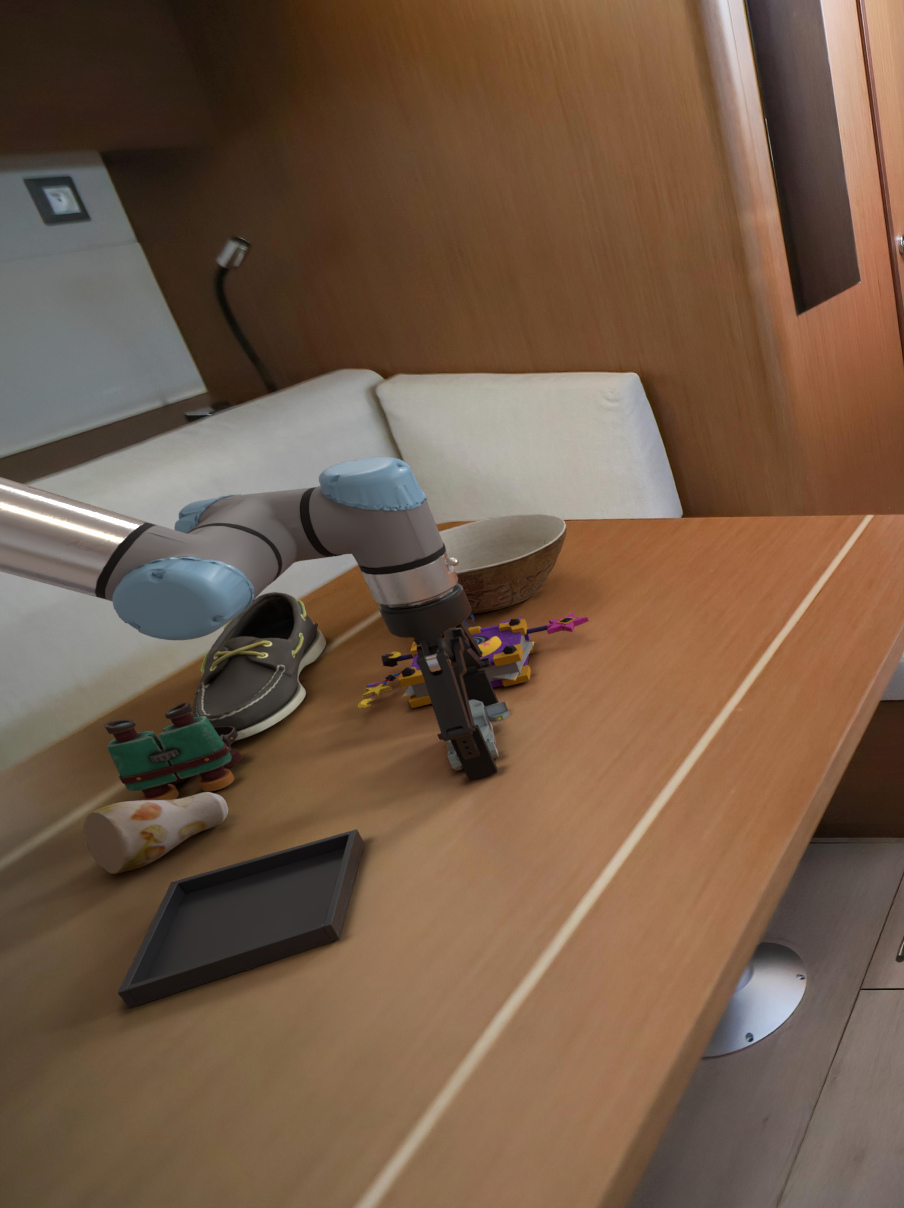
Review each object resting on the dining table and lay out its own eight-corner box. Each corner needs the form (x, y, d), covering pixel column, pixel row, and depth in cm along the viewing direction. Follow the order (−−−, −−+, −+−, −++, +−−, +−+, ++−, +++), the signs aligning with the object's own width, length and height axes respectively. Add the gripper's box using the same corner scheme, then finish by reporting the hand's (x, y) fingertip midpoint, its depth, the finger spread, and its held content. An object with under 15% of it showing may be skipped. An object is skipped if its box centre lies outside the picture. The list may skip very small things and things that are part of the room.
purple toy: (380, 671, 131) (343, 593, 126) (593, 625, 143) (568, 552, 137) (358, 726, 120) (316, 644, 114) (591, 672, 131) (563, 595, 126)
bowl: (393, 593, 150) (367, 536, 146) (568, 550, 165) (550, 497, 160) (406, 654, 135) (377, 592, 130) (598, 600, 149) (579, 543, 145)
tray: (129, 1008, 84) (117, 993, 83) (181, 896, 95) (171, 881, 94) (339, 939, 91) (331, 924, 90) (364, 842, 102) (357, 828, 101)
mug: (261, 818, 105) (179, 787, 97) (171, 898, 100) (77, 873, 92) (218, 787, 107) (133, 754, 99) (128, 864, 102) (31, 837, 94)
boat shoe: (189, 763, 113) (152, 703, 109) (221, 659, 133) (190, 605, 129) (316, 728, 120) (285, 670, 116) (328, 634, 139) (302, 581, 136)
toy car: (456, 777, 112) (441, 744, 109) (450, 737, 118) (435, 704, 116) (522, 755, 115) (509, 723, 113) (513, 717, 122) (500, 686, 120)
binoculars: (214, 675, 113) (199, 707, 105) (253, 751, 117) (242, 786, 109) (103, 702, 107) (80, 737, 100) (149, 781, 111) (129, 820, 104)
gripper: (451, 632, 100) (520, 790, 109) (468, 544, 118) (526, 686, 128) (358, 652, 96) (438, 814, 106) (391, 558, 115) (457, 703, 124)
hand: (486, 744), depth 117 cm, fingers open, 13 cm apart
